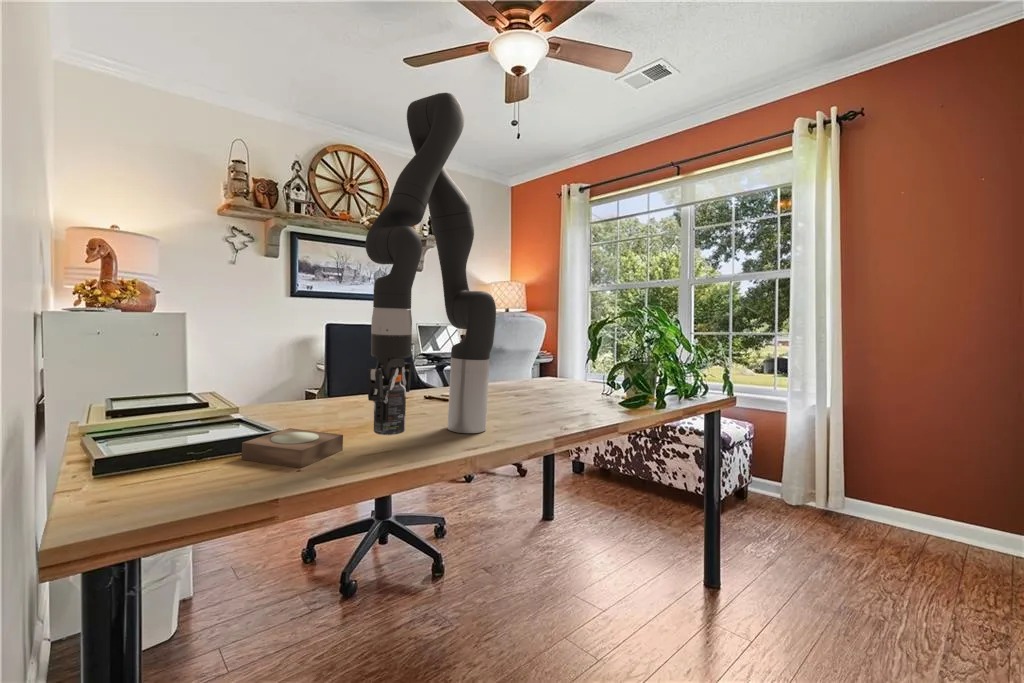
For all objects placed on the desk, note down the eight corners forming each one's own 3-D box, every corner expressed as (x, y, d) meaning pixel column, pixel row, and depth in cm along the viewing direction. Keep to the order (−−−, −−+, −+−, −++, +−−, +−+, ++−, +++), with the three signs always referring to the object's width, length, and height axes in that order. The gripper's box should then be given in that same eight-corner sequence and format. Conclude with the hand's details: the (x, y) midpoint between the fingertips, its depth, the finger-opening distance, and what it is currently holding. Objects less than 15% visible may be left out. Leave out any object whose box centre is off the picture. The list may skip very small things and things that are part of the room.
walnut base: (289, 443, 94) (289, 427, 94) (342, 450, 91) (343, 433, 91) (241, 459, 82) (242, 441, 82) (301, 468, 80) (301, 449, 79)
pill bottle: (409, 429, 94) (410, 372, 93) (399, 436, 88) (400, 376, 88) (380, 427, 95) (381, 371, 94) (368, 434, 89) (369, 375, 88)
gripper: (392, 334, 82) (389, 429, 83) (425, 331, 96) (423, 413, 97) (353, 332, 84) (351, 425, 85) (391, 330, 98) (389, 410, 99)
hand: (389, 418), depth 91 cm, fingers closed on pill bottle, 6 cm apart
